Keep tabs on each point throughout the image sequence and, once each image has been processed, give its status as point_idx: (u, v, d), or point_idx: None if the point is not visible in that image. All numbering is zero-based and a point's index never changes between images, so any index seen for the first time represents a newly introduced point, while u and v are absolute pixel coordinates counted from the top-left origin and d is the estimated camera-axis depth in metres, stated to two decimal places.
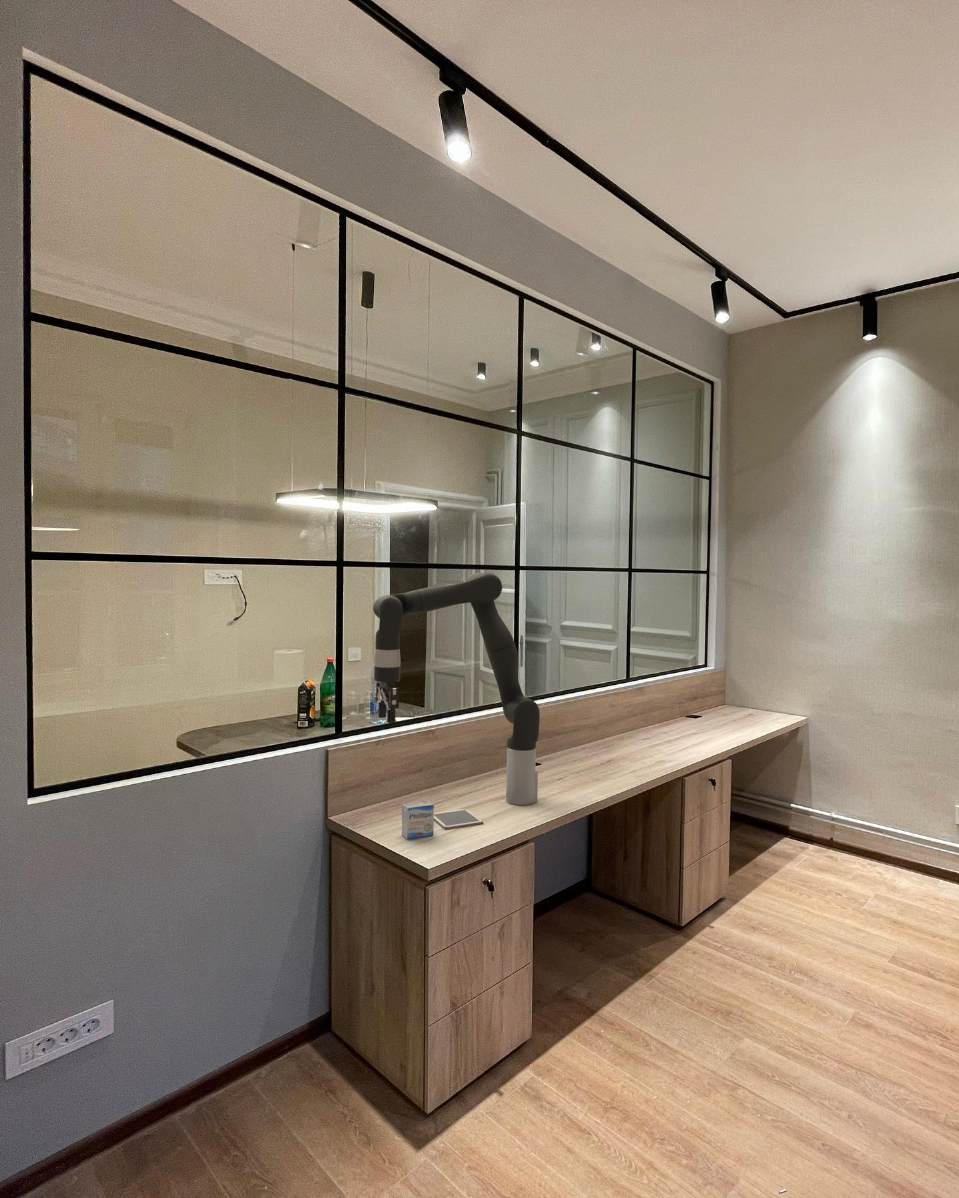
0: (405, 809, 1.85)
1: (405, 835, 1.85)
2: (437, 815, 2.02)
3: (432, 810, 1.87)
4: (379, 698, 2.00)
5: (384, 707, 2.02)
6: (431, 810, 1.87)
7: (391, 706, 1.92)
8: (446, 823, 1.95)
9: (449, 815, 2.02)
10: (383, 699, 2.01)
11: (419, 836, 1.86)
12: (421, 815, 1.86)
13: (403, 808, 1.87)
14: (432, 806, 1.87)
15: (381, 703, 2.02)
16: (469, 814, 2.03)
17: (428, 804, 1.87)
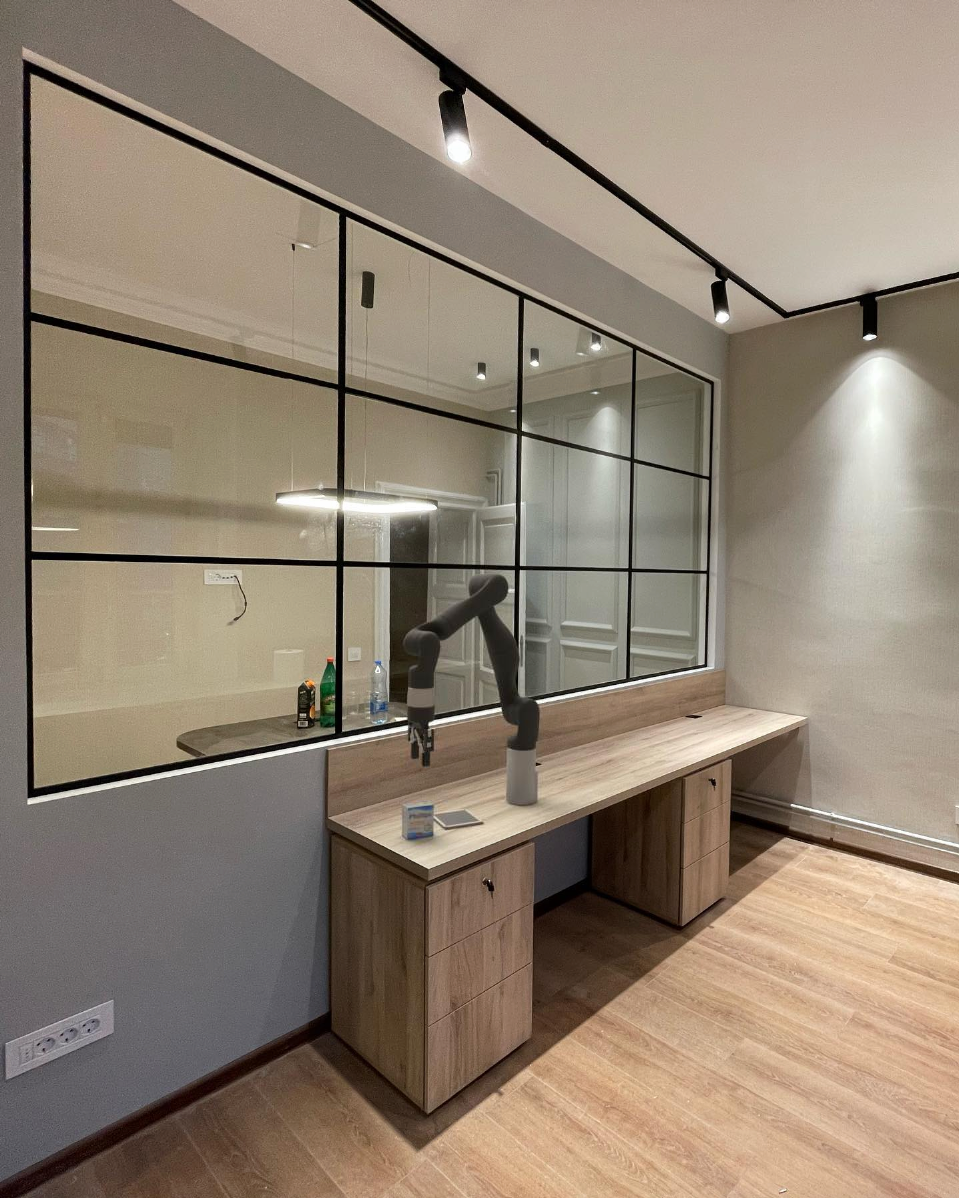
0: (405, 809, 1.85)
1: (405, 835, 1.85)
2: (437, 815, 2.02)
3: (432, 810, 1.87)
4: (412, 738, 1.89)
5: (417, 748, 1.91)
6: (431, 810, 1.87)
7: (426, 749, 1.80)
8: (446, 823, 1.95)
9: (449, 815, 2.02)
10: None
11: (419, 836, 1.86)
12: (421, 815, 1.86)
13: (403, 808, 1.87)
14: (432, 806, 1.87)
15: (414, 743, 1.91)
16: (469, 814, 2.03)
17: (428, 804, 1.87)
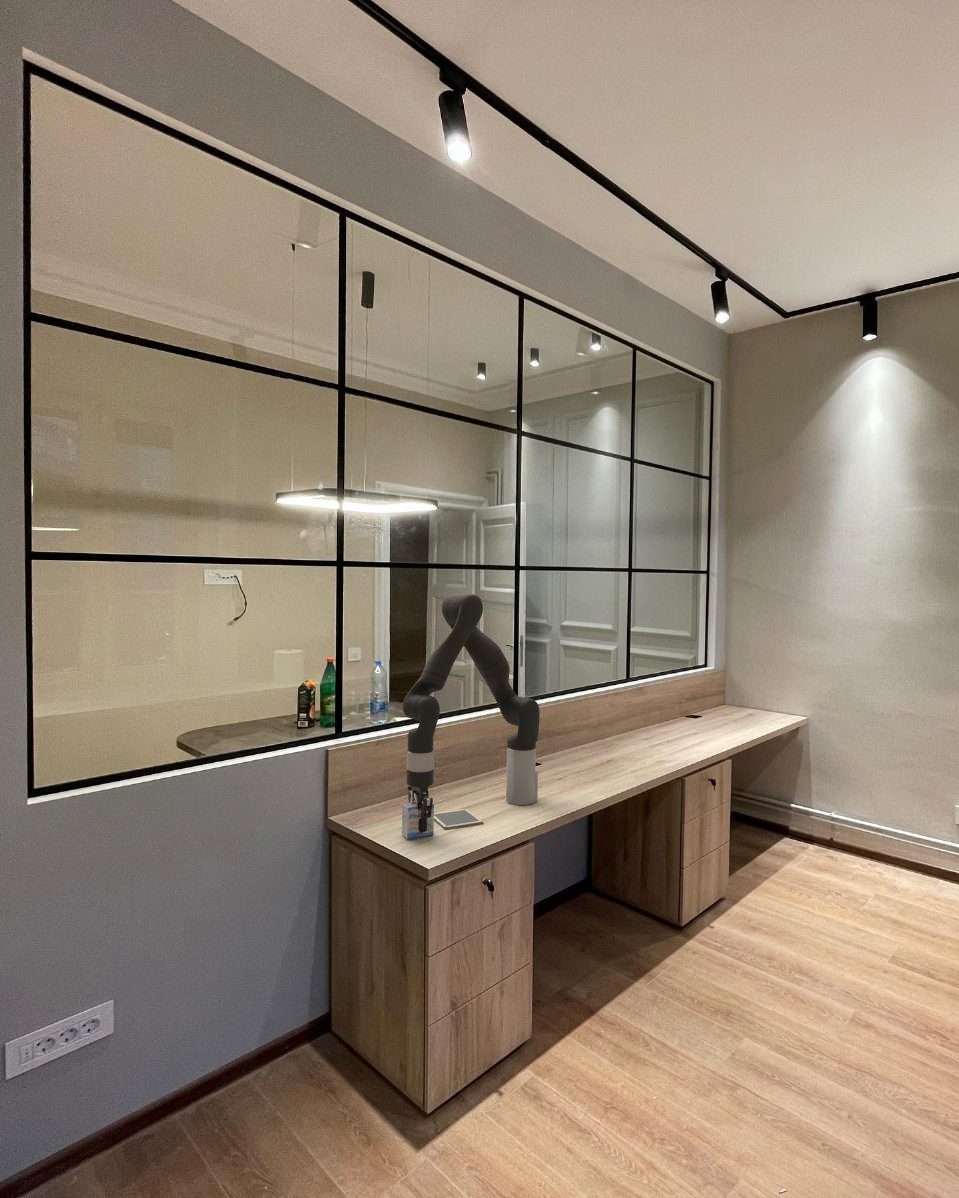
0: (405, 808, 1.85)
1: (405, 835, 1.85)
2: (437, 815, 2.02)
3: (432, 810, 1.87)
4: None
5: None
6: None
7: (423, 816, 1.82)
8: (446, 823, 1.95)
9: (449, 815, 2.02)
10: None
11: (419, 836, 1.86)
12: None
13: (403, 808, 1.86)
14: (432, 806, 1.87)
15: None
16: (469, 814, 2.03)
17: None
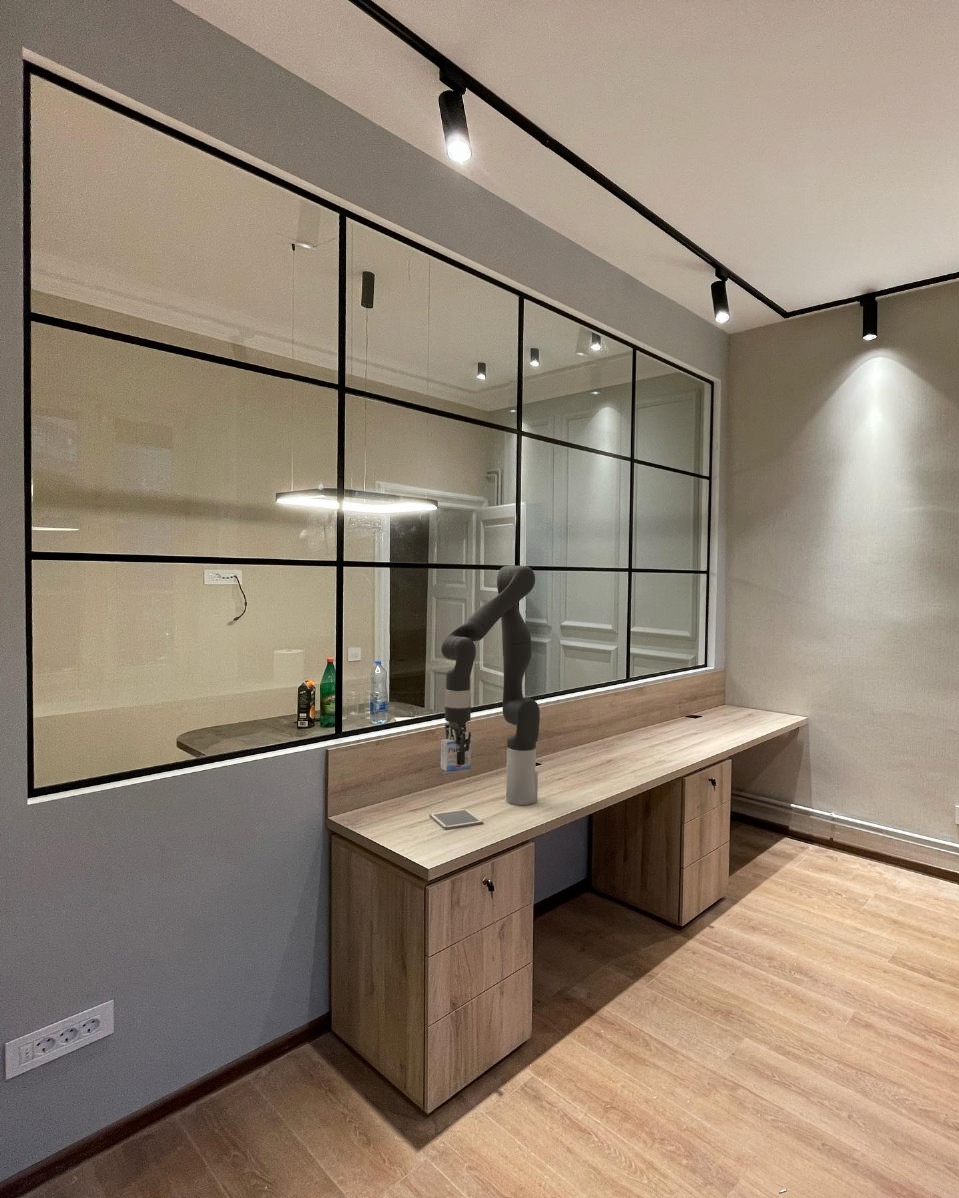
0: (444, 743, 1.97)
1: (444, 768, 1.97)
2: (437, 815, 2.02)
3: (469, 745, 1.99)
4: None
5: None
6: None
7: (462, 750, 1.94)
8: (446, 823, 1.95)
9: (449, 815, 2.02)
10: None
11: (457, 769, 1.97)
12: None
13: (442, 743, 1.98)
14: None
15: None
16: (469, 814, 2.03)
17: None
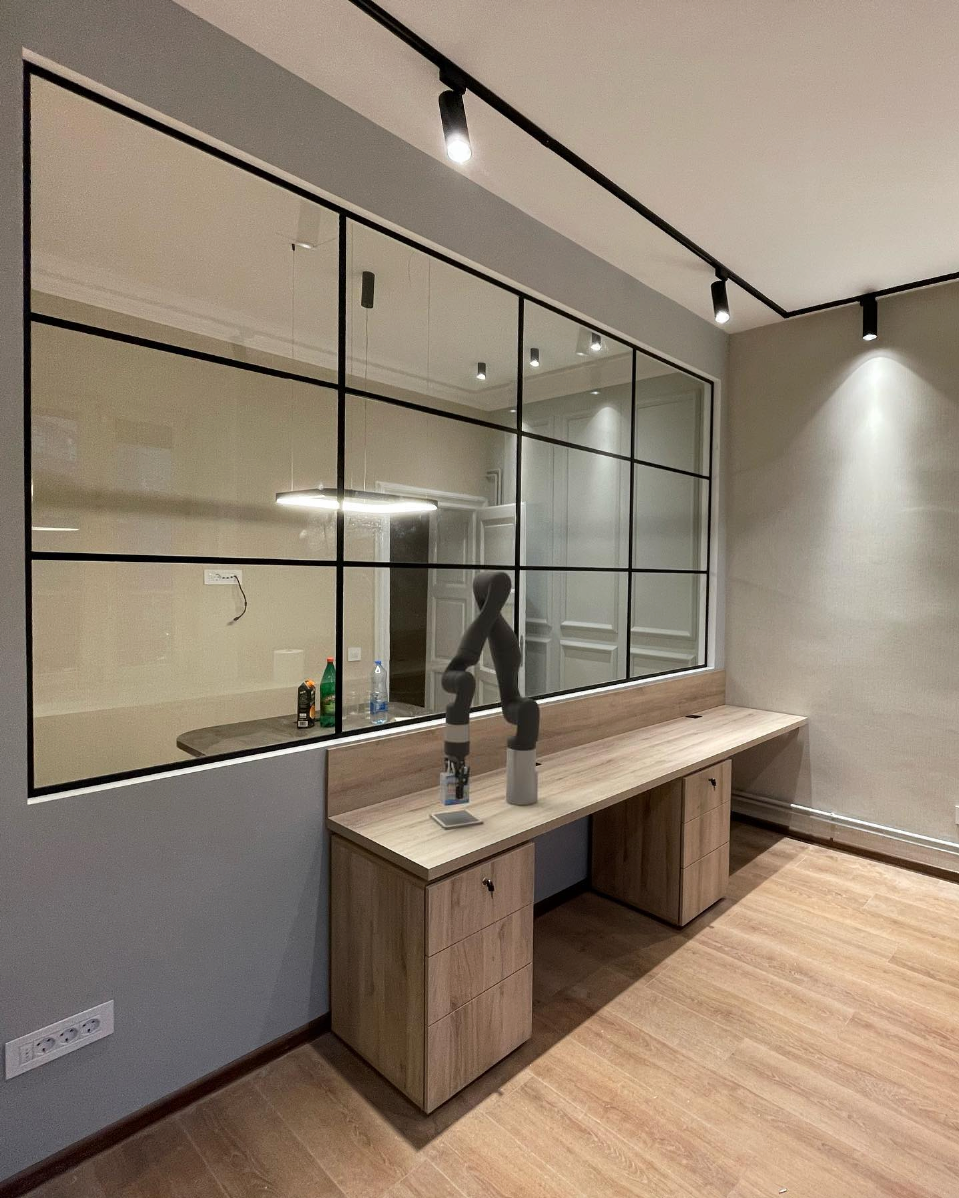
0: (443, 777, 1.97)
1: (443, 801, 1.97)
2: (437, 815, 2.02)
3: (468, 779, 1.99)
4: None
5: None
6: None
7: (460, 784, 1.95)
8: (446, 823, 1.95)
9: (449, 815, 2.02)
10: None
11: (456, 803, 1.98)
12: None
13: (441, 776, 1.99)
14: None
15: None
16: (469, 814, 2.03)
17: None
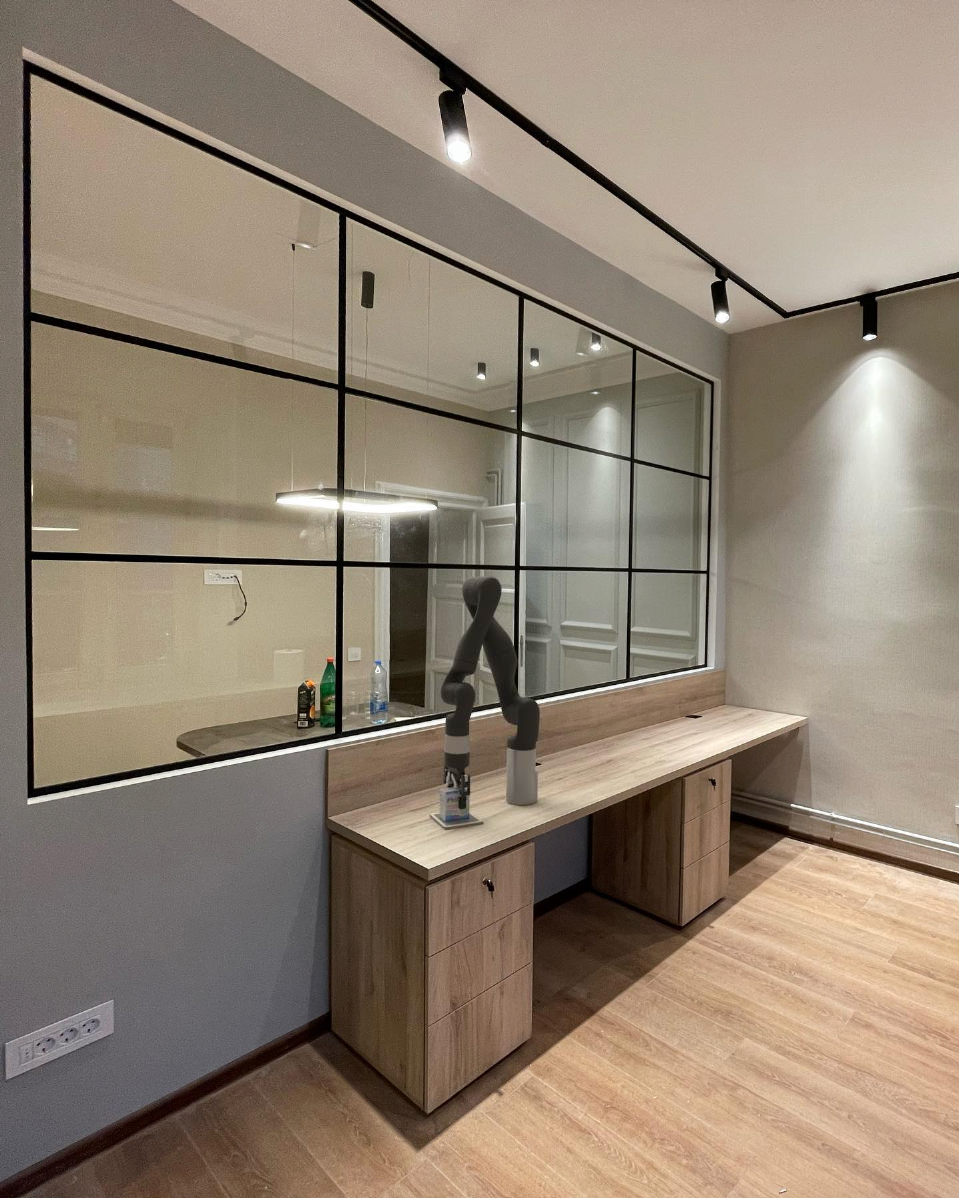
0: (443, 793, 1.97)
1: (443, 817, 1.97)
2: (437, 815, 2.02)
3: None
4: (448, 782, 2.02)
5: None
6: None
7: (463, 793, 1.93)
8: (446, 823, 1.95)
9: None
10: None
11: (456, 818, 1.98)
12: None
13: (441, 792, 1.99)
14: None
15: (450, 786, 2.03)
16: (469, 814, 2.03)
17: None
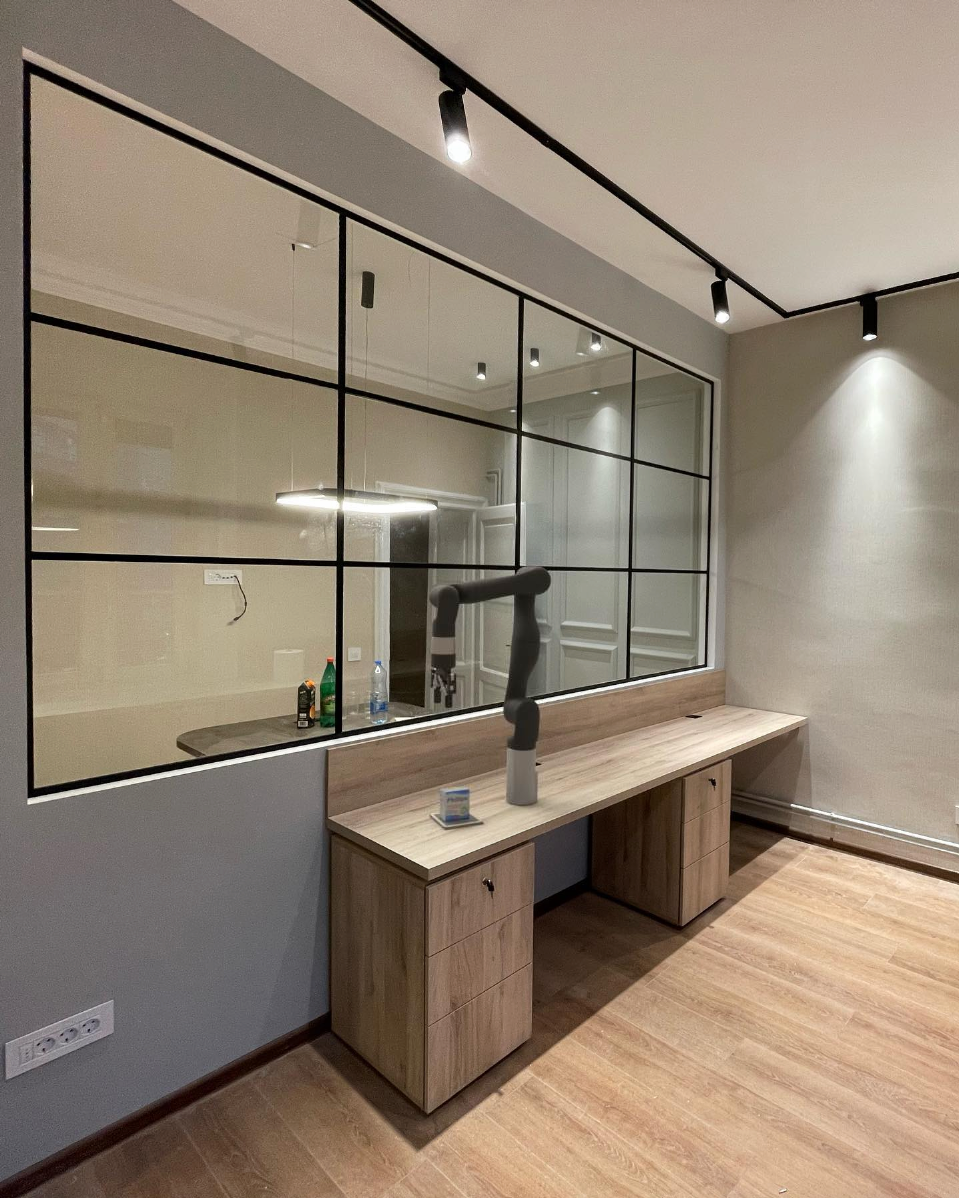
0: (443, 793, 1.97)
1: (443, 817, 1.97)
2: (437, 815, 2.02)
3: (468, 794, 1.99)
4: (435, 684, 2.07)
5: (439, 693, 2.09)
6: (467, 794, 1.99)
7: (449, 691, 1.99)
8: (446, 823, 1.95)
9: None
10: (438, 685, 2.08)
11: (456, 818, 1.98)
12: (458, 799, 1.98)
13: (441, 792, 1.99)
14: (468, 790, 1.99)
15: (436, 689, 2.09)
16: (469, 814, 2.03)
17: (464, 789, 2.00)
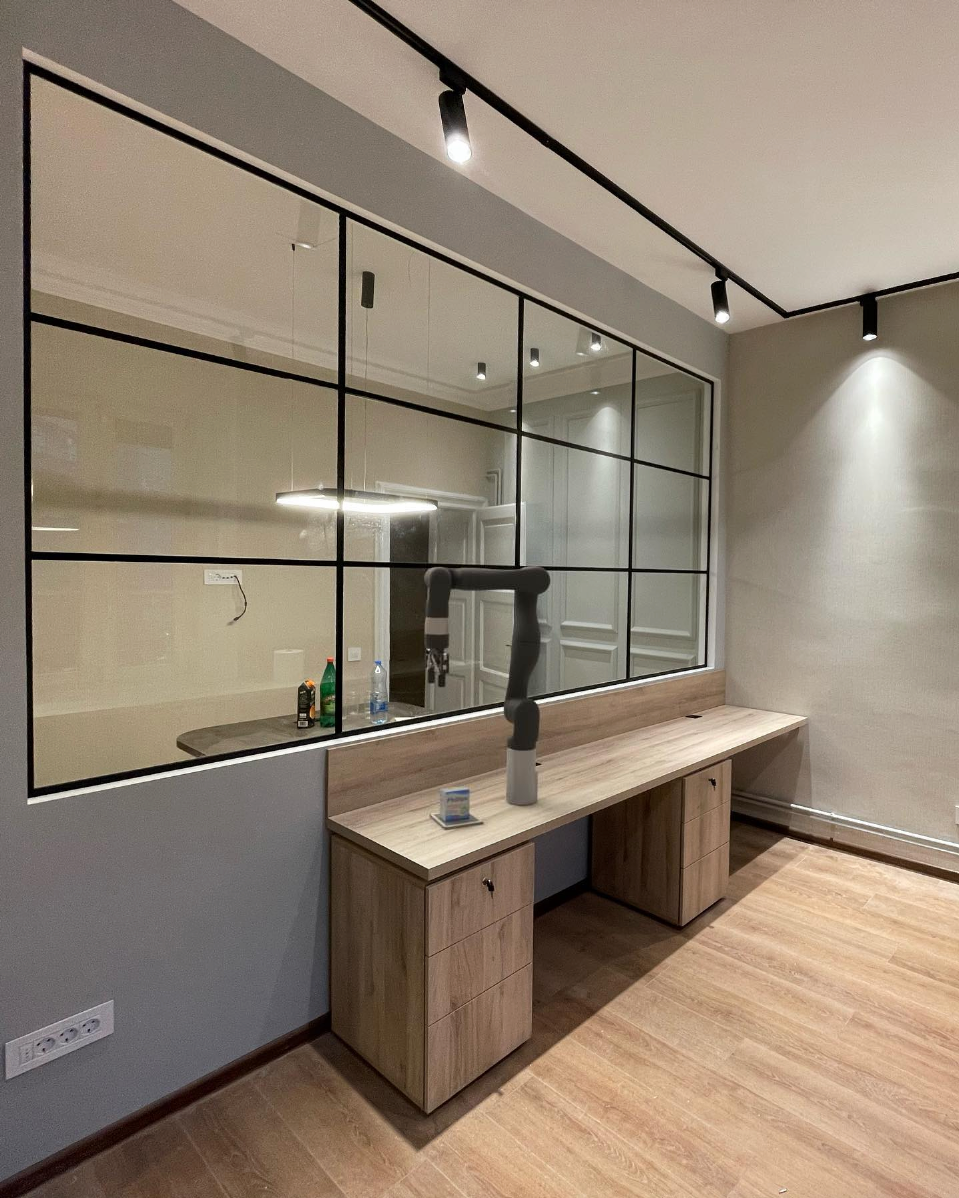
0: (443, 793, 1.97)
1: (443, 817, 1.97)
2: (437, 815, 2.02)
3: (468, 794, 1.99)
4: (429, 664, 2.11)
5: (433, 673, 2.13)
6: (467, 794, 1.99)
7: (442, 670, 2.02)
8: (446, 823, 1.95)
9: None
10: (432, 665, 2.12)
11: (456, 818, 1.98)
12: (458, 799, 1.98)
13: (441, 792, 1.99)
14: (468, 790, 1.99)
15: (430, 669, 2.13)
16: (469, 814, 2.03)
17: (464, 789, 2.00)
